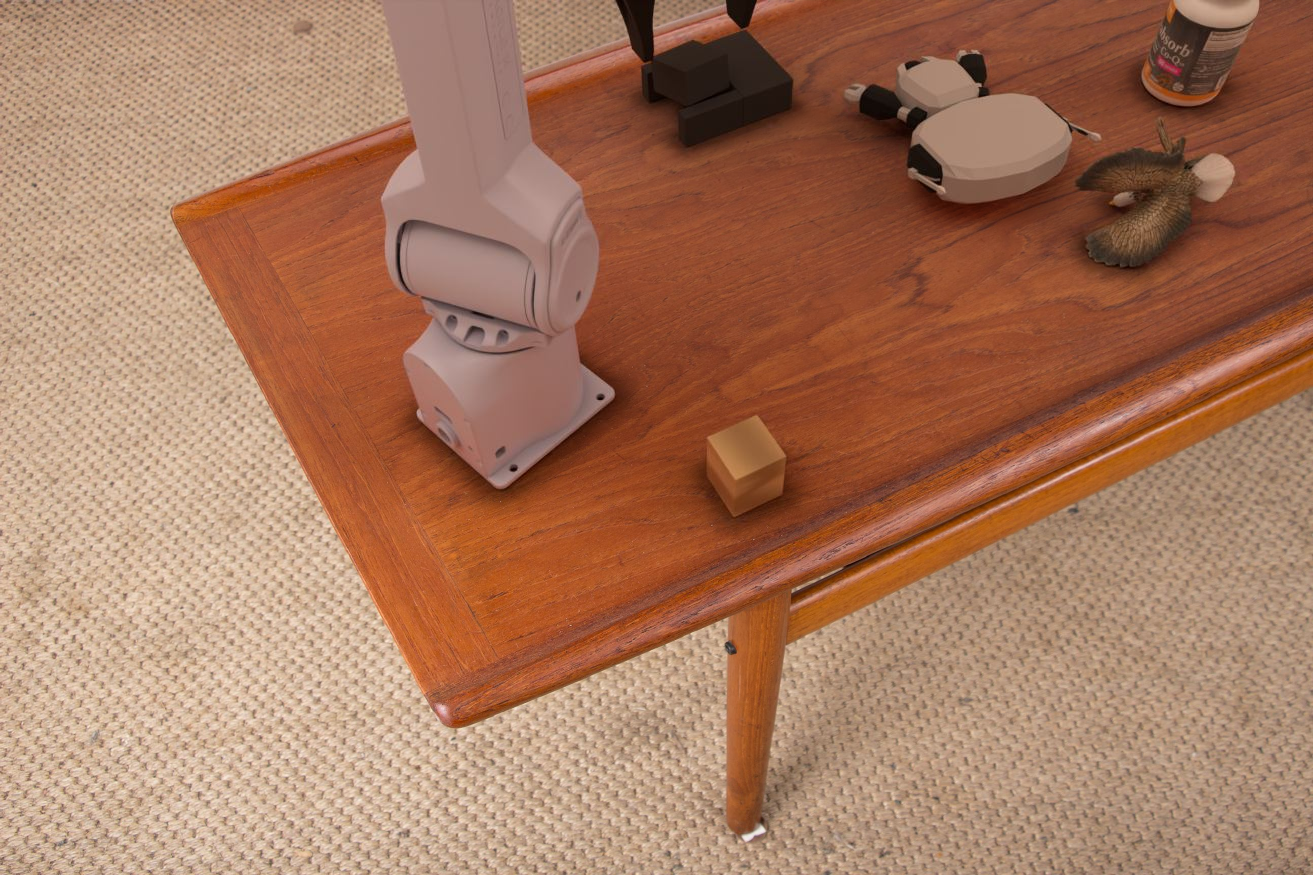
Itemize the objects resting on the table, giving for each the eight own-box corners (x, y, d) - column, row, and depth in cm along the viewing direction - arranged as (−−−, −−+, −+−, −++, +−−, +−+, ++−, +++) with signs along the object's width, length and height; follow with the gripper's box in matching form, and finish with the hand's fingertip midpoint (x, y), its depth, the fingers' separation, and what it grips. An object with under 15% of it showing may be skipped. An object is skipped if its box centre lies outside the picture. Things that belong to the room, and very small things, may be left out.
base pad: (685, 148, 78) (684, 119, 76) (642, 94, 82) (640, 65, 80) (791, 108, 80) (793, 79, 78) (744, 58, 84) (745, 28, 82)
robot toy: (829, 124, 80) (939, 243, 72) (833, 70, 77) (948, 189, 68) (970, 78, 83) (1093, 188, 74) (980, 24, 79) (1111, 133, 70)
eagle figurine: (1110, 144, 75) (1041, 188, 71) (1201, 91, 69) (1132, 136, 64) (1165, 238, 75) (1100, 288, 71) (1261, 194, 69) (1196, 245, 65)
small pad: (687, 107, 77) (684, 72, 75) (653, 91, 79) (650, 57, 78) (730, 87, 78) (727, 53, 77) (696, 73, 81) (692, 39, 79)
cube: (733, 518, 60) (735, 480, 57) (706, 476, 62) (706, 436, 59) (782, 495, 61) (787, 456, 58) (754, 454, 63) (757, 414, 60)
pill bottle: (1124, 71, 82) (1171, -52, 73) (1191, 55, 82) (1244, -69, 74) (1166, 117, 78) (1220, -7, 70) (1235, 100, 79) (1296, -24, 71)
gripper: (759, -219, 68) (751, -22, 79) (551, -158, 65) (573, 38, 76) (819, -171, 65) (802, 28, 76) (601, -105, 61) (617, 94, 72)
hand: (690, 37), depth 76 cm, fingers open, 7 cm apart
